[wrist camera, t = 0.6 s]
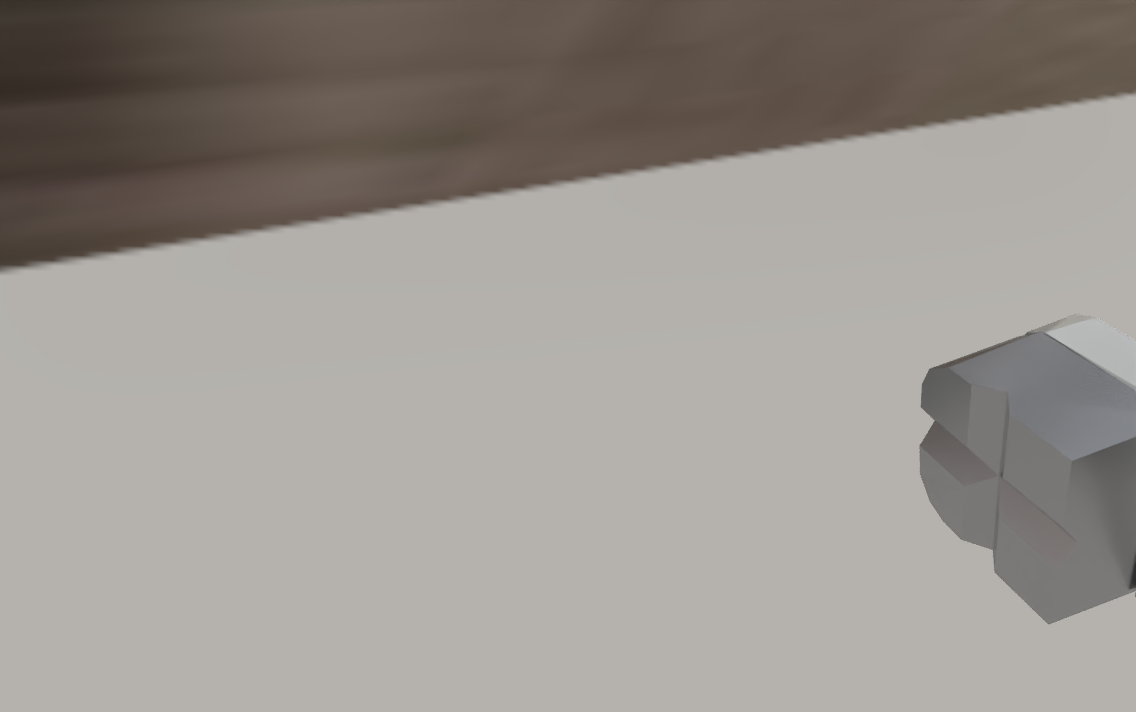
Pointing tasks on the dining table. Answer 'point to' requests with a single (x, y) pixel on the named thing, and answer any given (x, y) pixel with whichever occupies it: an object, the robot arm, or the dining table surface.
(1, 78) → the dining table surface
